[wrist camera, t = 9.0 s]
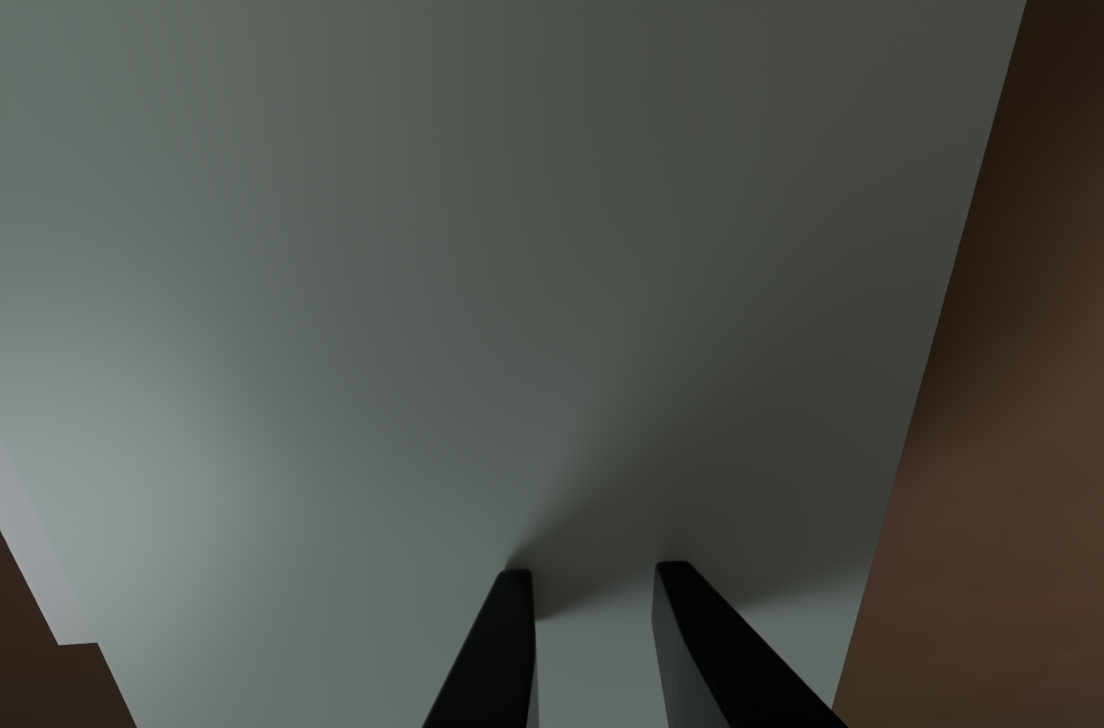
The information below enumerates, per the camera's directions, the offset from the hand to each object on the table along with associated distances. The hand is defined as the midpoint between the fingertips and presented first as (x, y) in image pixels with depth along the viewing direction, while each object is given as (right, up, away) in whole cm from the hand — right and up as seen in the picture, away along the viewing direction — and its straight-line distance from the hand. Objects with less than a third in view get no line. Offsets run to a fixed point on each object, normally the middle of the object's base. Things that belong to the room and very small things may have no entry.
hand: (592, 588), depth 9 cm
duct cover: (-2, +4, -1) cm, 4 cm away
